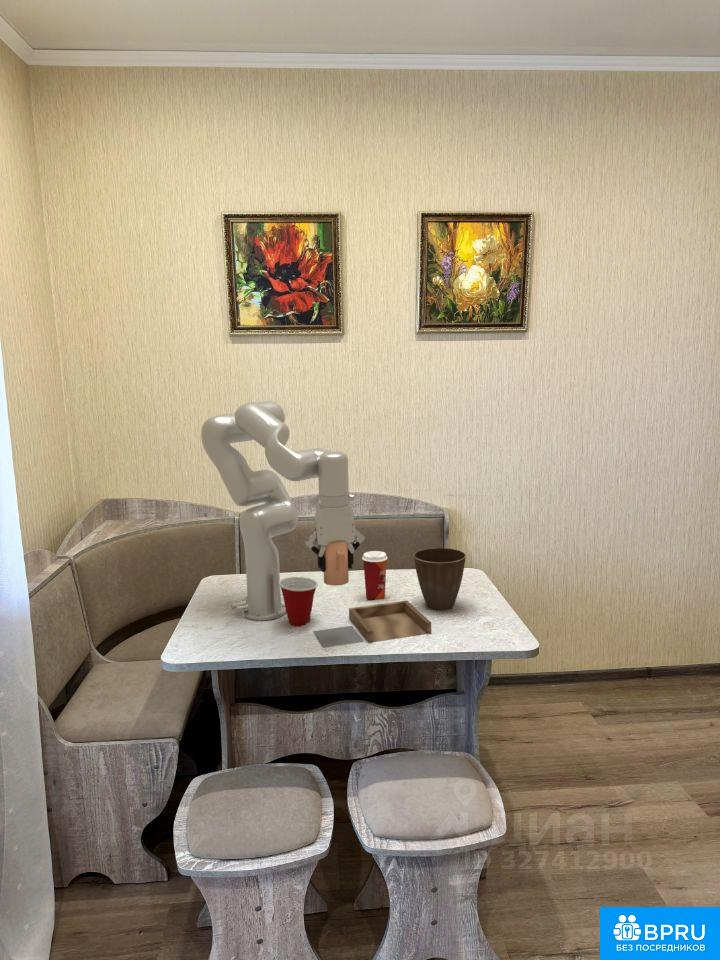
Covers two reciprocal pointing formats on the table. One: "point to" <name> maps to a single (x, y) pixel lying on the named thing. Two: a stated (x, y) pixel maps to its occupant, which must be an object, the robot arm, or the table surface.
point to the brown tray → (389, 621)
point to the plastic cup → (298, 598)
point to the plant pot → (439, 576)
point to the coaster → (337, 636)
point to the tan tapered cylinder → (336, 564)
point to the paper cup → (375, 574)
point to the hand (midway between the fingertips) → (335, 568)
